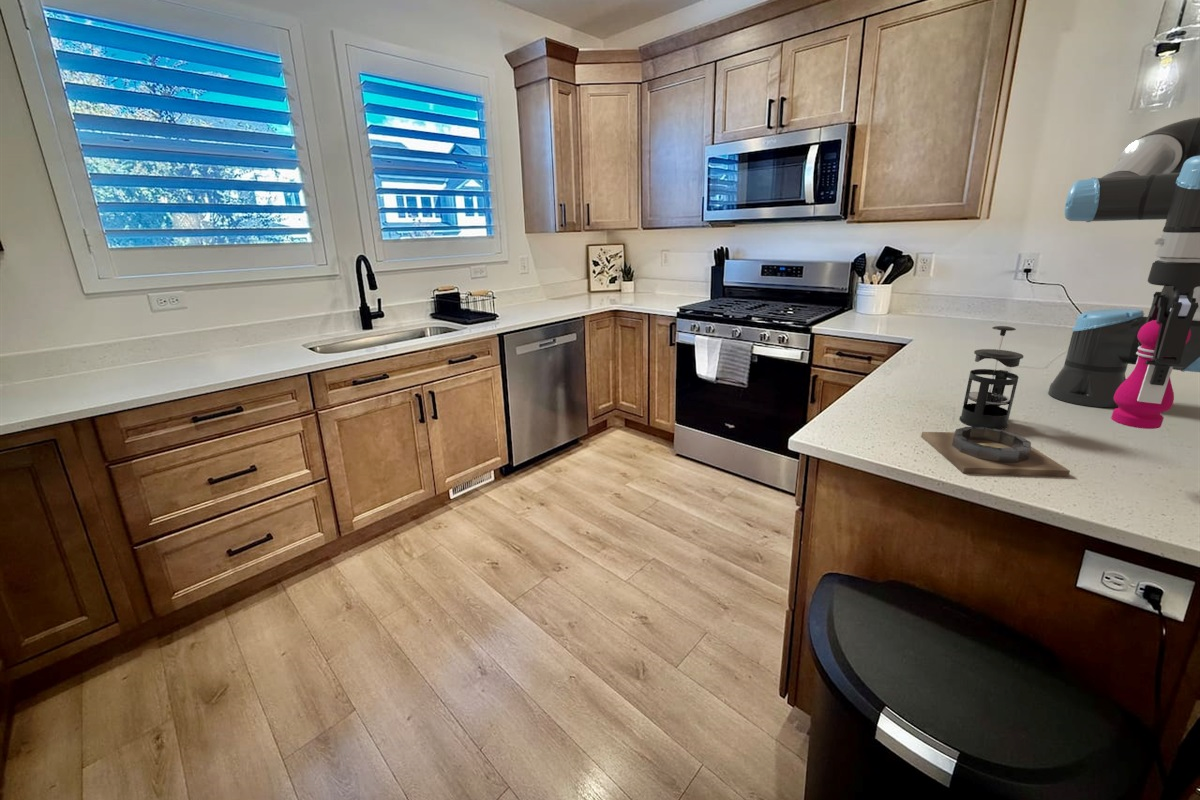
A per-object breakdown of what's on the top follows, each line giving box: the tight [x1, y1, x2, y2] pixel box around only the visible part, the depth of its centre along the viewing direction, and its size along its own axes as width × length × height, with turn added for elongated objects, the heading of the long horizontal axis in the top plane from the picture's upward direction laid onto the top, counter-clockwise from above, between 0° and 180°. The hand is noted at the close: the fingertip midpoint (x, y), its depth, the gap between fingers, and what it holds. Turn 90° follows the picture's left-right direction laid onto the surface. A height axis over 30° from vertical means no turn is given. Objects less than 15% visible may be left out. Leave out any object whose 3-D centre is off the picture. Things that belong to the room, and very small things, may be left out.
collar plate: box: [920, 431, 1071, 477], centre depth 105 cm, size 18×18×1 cm
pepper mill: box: [1110, 320, 1191, 430], centre depth 87 cm, size 7×7×20 cm
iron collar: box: [952, 426, 1032, 463], centre depth 104 cm, size 12×12×2 cm
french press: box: [958, 325, 1025, 430], centre depth 118 cm, size 12×9×23 cm
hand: (1143, 395), depth 89 cm, fingers closed on pepper mill, 7 cm apart
